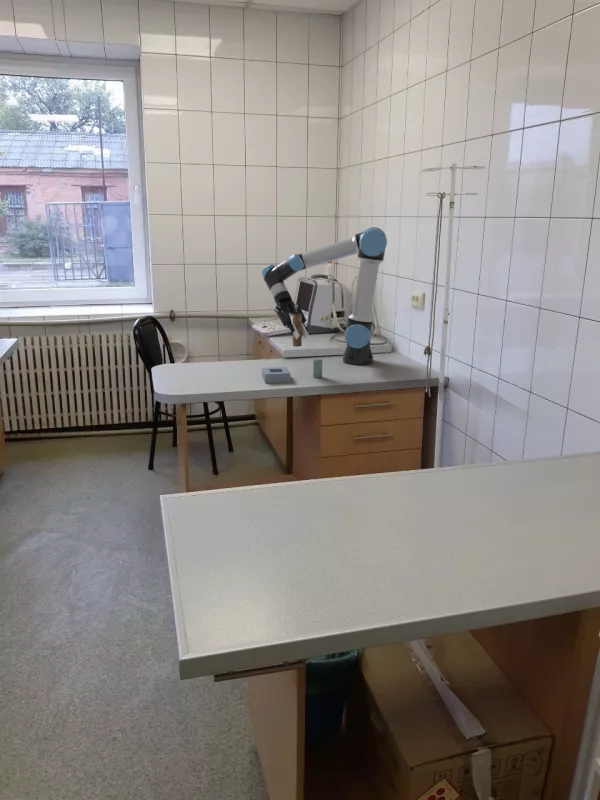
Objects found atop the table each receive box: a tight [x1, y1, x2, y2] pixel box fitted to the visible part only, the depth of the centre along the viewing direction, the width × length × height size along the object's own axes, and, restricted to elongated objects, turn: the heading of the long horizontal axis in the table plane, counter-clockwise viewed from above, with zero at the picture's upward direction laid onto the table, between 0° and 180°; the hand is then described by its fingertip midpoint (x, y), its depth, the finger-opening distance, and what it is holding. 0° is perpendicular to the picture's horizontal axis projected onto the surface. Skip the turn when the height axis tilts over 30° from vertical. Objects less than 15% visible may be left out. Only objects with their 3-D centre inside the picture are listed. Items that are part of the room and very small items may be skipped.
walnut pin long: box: [292, 314, 303, 348], centre depth 278 cm, size 4×4×14 cm
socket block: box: [261, 366, 291, 384], centre depth 274 cm, size 11×11×4 cm
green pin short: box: [312, 358, 323, 379], centre depth 277 cm, size 4×4×8 cm
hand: (302, 336), depth 276 cm, fingers closed on walnut pin long, 4 cm apart
